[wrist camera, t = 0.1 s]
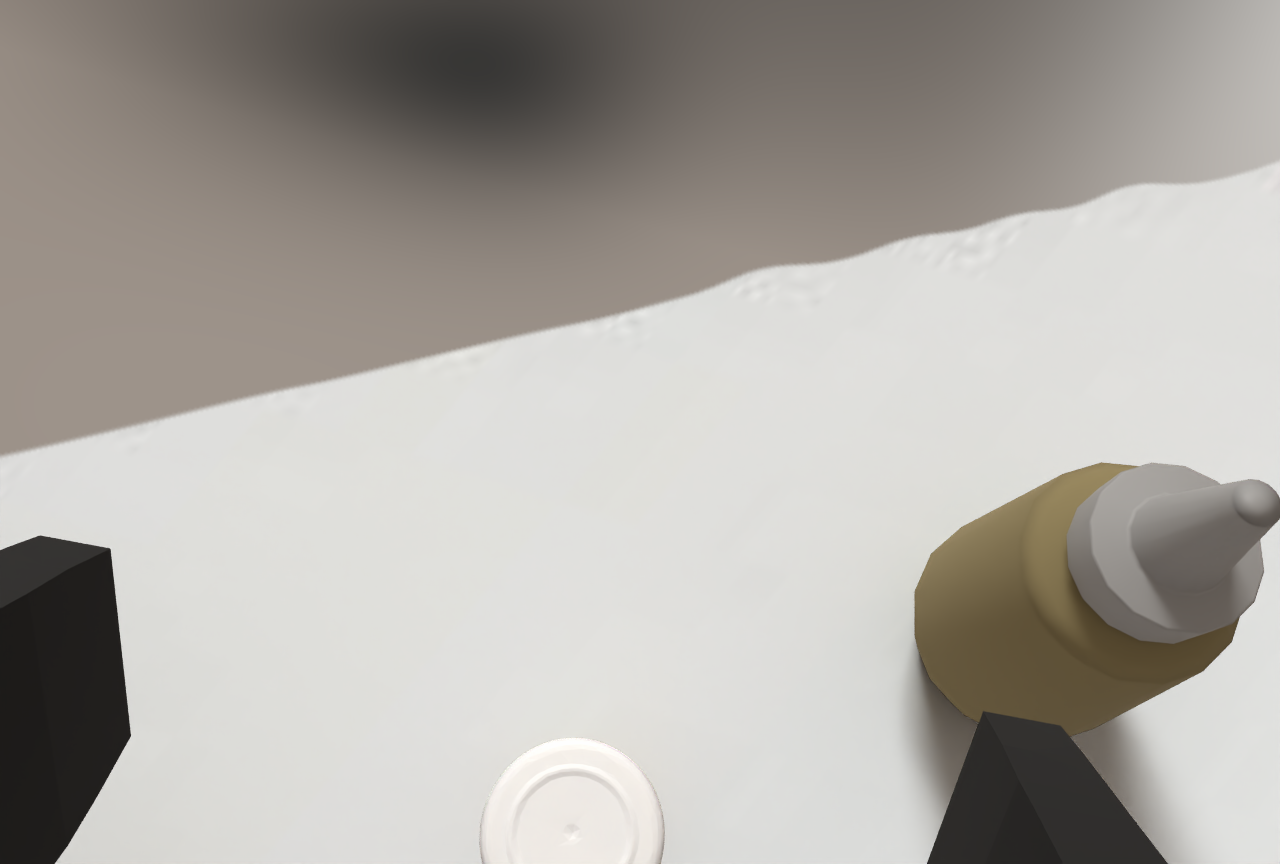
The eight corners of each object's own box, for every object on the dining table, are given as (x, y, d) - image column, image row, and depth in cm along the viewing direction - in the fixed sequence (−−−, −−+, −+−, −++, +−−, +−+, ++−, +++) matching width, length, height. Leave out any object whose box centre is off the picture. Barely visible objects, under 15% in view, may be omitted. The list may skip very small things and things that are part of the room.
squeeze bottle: (1118, 740, 40) (1489, 662, 24) (908, 762, 40) (1135, 699, 23) (1066, 532, 43) (1362, 332, 26) (869, 551, 43) (1045, 358, 26)
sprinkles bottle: (660, 883, 38) (691, 900, 25) (536, 926, 37) (505, 966, 25) (622, 754, 39) (633, 711, 27) (501, 794, 39) (455, 768, 26)
